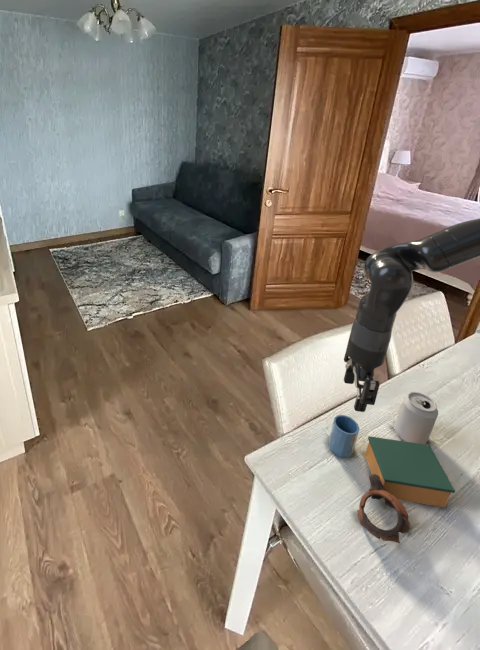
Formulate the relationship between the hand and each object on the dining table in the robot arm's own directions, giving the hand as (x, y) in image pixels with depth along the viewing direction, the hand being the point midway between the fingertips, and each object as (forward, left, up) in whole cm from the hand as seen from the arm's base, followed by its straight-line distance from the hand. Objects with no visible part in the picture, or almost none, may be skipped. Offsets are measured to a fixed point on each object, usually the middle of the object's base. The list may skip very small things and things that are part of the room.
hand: (353, 395), depth 81 cm
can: (-19, -6, -17) cm, 26 cm away
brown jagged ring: (-4, +16, -17) cm, 24 cm away
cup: (0, +1, -17) cm, 17 cm away
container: (-12, +7, -17) cm, 21 cm away
